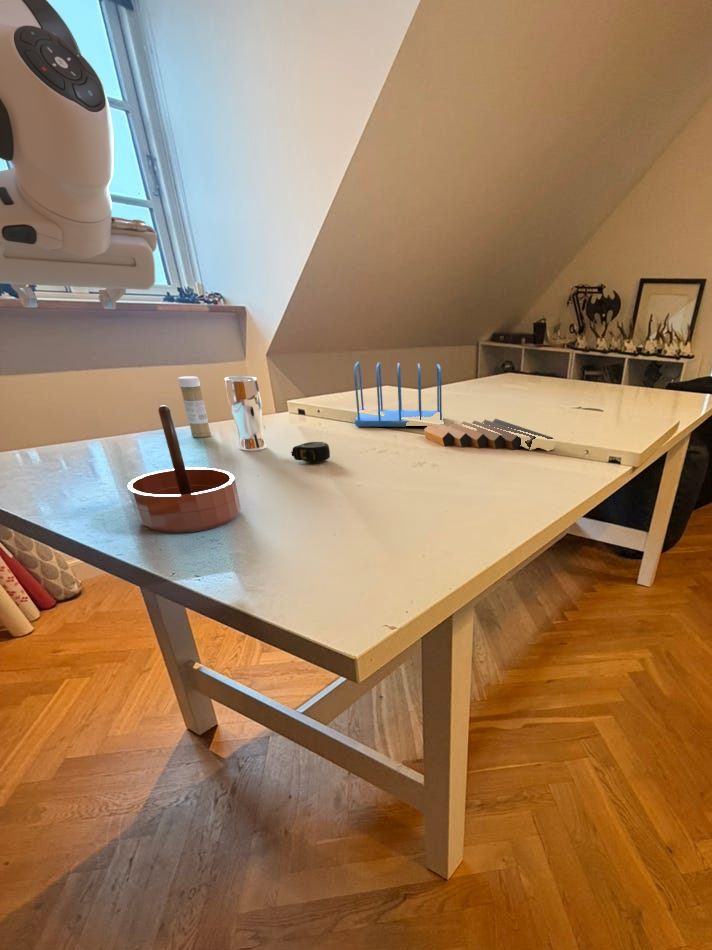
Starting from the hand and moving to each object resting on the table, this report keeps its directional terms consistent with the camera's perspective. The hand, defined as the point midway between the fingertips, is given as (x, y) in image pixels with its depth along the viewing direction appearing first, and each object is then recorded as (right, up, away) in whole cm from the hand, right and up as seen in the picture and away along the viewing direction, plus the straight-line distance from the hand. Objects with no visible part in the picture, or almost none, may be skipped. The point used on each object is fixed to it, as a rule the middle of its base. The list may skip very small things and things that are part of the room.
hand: (69, 304), depth 75 cm
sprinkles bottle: (-13, +5, +61) cm, 62 cm away
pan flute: (+59, +4, +66) cm, 89 cm away
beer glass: (+3, -1, +53) cm, 53 cm away
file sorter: (+34, +18, +85) cm, 93 cm away
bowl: (+9, -26, +14) cm, 31 cm away
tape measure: (+20, -7, +46) cm, 50 cm away
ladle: (+10, -26, +14) cm, 31 cm away
